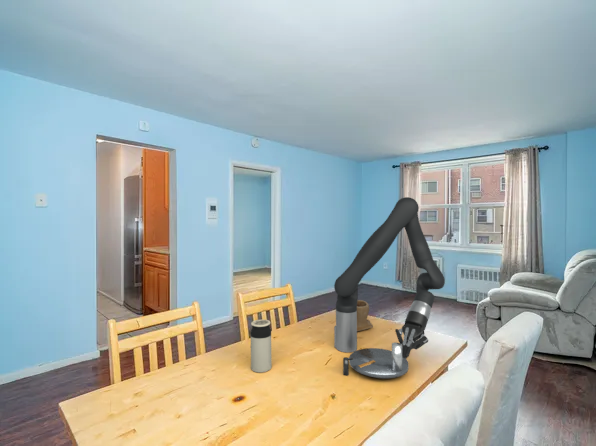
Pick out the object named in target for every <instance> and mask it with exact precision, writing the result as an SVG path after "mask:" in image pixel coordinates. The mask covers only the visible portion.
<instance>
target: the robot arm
mask: <svg viewBox="0 0 596 446" xmlns="http://www.w3.org/2000/svg"><path fill="white" fill-rule="evenodd" d="M419 209H420V206H419V204H418V202H417V201H416V200H415V198H412V197H408V196H406V197H402V198H400V199H398V200H397V202H396V203H395V205H394V207H393V209H392V211H391V212H390V214H389V215H388V216H387V218H386V219H385V221H384V222H383V223H382V224H381V225H380V226H379V227H378V228H377V229H375V230H374V232H372V234H371V235H370V236H369V237H368V239H367V240H366V241H365V242H364V244H363V245H362V247H361V248H360V250H358V253H357V254H356V255H355V257H354V259H353V261H352V262H351V264H350V265H349V266H348V267H347V268H346V269H345V271H343V272H342V274H341V275H339V276H338V277H337V278H336V279H335V281H334V285H333V286H334V287H333V288H334V292H335V293H336V294H337V295H336V296H337V297H336V303H335V325H334V328H333V331H334V334H333V335H334V339H333V340H334V348H335V349H336V350H337V351H339V352H342V353H353V352H355V351H357V350H358V331H357V302H358V300H359V299H358V294H359V292H358V290H359V288H358V287H359V284H360V282H361V281H362V279H363V278H364V276H366V275H367V273H368V272H370V271H371V269H372V268H374V266H376V265H377V264H378V262H380V260H381V259H382V258H383V256H384V255H385V254H386V253H387V251H388V250H389V249H390V247H391V246H392V244H393V243H394V241H395V240H396V239H397V237H398V235H399V234H400V232H401V231H402V230H403V229H404V230H405V233H406V236H407V239H408V242H409V243H408V244H409V247H410V251H411V253H412V256H413V260H414V263H415V266H416V267H417V268H419V269H423V270H425V272H422V273H420V274H419V275H418V276H417V279H416V288H415V289H416V292H415V296H414V299H413V300H412V301H413V302H412V303H411V305H410V308H409V310H408V312H407V314H406V317H405V320H404V324H403V325H402V326H401V327H400V328H399V329H398V328H395V329H394V330H395V331H394V332H395V334H396V337H397V338H396V339H397V341H398V343H401V344H402V357H403V358H406V359H407V358H409V357H410V354H411V351H412V350H418V349H420V348H421V347H422V346H424V345H425V344H427V343H428V342H429V339H428V337H427V336H426V335H425V330H426V328H427V324H428V323H429V322H428V321H429V319H430V316H431V313H432V308H433V304H434V302H435V295H434V294H433V293H432V292H431V290H441V289H443V288H444V286H445V284H446V283H445V282H446V281H445V277H444V274H443V272H442V271H441V268H439V266H438V265H437V264H436V262H435V260H434V258H433V256H432V255H433V254H432V252H431V249H430V247H429V244H428V241H427V239H426V237H425V234H424V232H423V230H422V226H421V224H420V220H419V219H420V218H419ZM429 290H430V291H429Z"/></svg>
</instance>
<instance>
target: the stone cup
mask: <svg viewBox="0 0 596 446" xmlns="http://www.w3.org/2000/svg"><path fill="white" fill-rule="evenodd" d="M369 312H370V305H369V302H367V301H366V300H362V299H358V302H357V332H362V331H365V330H368V329H372V328H374V325H373V324H372V322H371V321H370V319H368V316H369V314H370V313H369Z"/></svg>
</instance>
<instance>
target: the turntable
mask: <svg viewBox="0 0 596 446" xmlns="http://www.w3.org/2000/svg"><path fill="white" fill-rule="evenodd" d="M350 357H352V358H353V360H349V366H350V367H351V368H352V369H353V370H354V371H355V372H357V373H359V374H360V375H364V376H366V377H367V376H368V377H371V378H377V379H396V378H399V377H403V376H404V375H405V374H407V373H408V371H409V361H408V359H407V358H403V357H402V344H401V343H399V342H397V341H396V342H392V343H391V350H390V349H384V348H374V347H370V348H367V347H366V348H361V349H357V350H356V351H354V352H351V354H350V355H349V356H348V358H350Z"/></svg>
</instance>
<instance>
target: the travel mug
mask: <svg viewBox="0 0 596 446" xmlns="http://www.w3.org/2000/svg"><path fill="white" fill-rule="evenodd" d="M250 324H251V329H250V369H251V370H252V371H253V372H255V373H265V372H268V371H270V370H271V369H272V365H273V364H272V328H270V325H271V321H270V320H269V319H256V320H253V321H251V322H250Z"/></svg>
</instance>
